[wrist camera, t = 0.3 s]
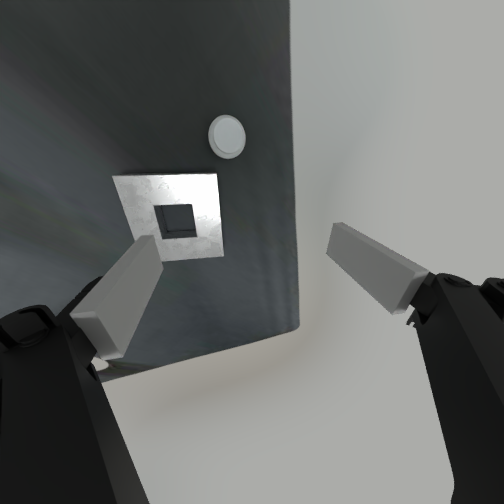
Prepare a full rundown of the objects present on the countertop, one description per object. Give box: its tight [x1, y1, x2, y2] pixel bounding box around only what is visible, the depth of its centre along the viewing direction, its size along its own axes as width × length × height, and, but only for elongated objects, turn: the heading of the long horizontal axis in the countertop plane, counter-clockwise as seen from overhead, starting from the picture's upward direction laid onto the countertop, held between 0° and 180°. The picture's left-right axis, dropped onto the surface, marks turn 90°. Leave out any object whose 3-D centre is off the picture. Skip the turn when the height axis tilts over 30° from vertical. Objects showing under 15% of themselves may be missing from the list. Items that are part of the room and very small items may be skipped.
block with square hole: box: [112, 172, 224, 261], centre depth 34 cm, size 16×16×4 cm
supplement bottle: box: [208, 115, 246, 159], centre depth 27 cm, size 5×5×10 cm
